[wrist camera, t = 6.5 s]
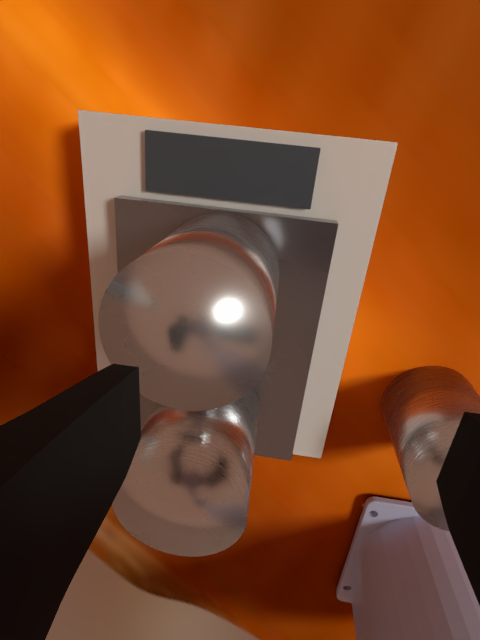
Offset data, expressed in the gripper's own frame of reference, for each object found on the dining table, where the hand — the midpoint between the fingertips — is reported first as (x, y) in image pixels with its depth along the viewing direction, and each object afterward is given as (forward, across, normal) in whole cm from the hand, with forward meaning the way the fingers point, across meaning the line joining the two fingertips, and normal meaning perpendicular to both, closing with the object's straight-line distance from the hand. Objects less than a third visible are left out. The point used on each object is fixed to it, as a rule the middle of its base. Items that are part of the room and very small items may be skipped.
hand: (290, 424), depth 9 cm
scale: (+10, +3, +1) cm, 10 cm away
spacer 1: (+7, +3, -1) cm, 7 cm away
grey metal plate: (+7, +3, +2) cm, 8 cm away
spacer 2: (+7, +3, +5) cm, 9 cm away
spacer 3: (+10, -8, +6) cm, 14 cm away
